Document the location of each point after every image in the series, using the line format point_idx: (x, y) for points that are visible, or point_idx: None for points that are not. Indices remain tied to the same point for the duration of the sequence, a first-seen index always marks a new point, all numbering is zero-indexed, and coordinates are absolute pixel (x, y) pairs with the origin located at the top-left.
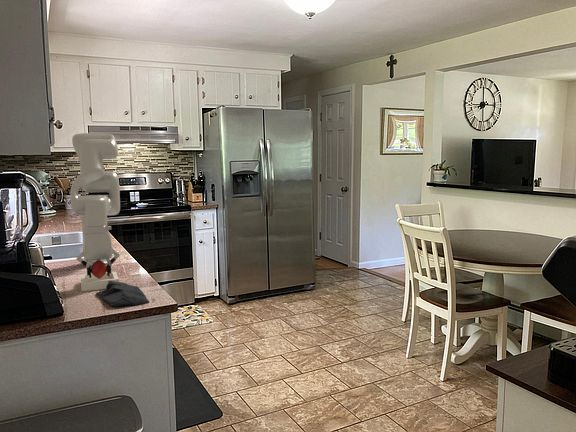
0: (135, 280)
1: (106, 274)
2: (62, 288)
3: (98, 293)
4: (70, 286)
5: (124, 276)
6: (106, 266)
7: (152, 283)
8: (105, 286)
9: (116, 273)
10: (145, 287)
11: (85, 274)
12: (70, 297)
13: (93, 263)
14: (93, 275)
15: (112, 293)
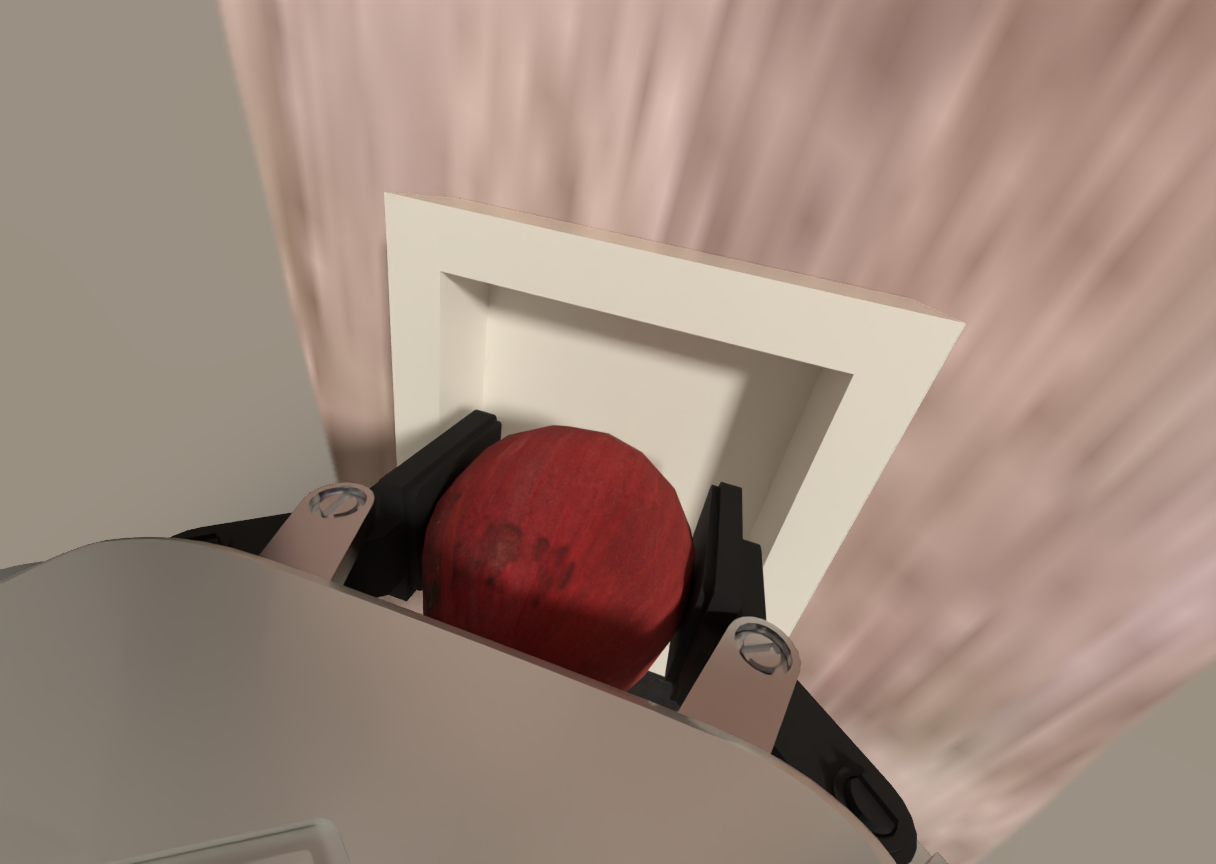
0: (1067, 529)
1: (752, 343)
2: (301, 331)
3: None
4: (359, 302)
5: (1151, 183)
6: (668, 641)
7: (1102, 738)
8: None
9: (876, 473)
10: (934, 771)
11: (448, 223)
12: (384, 600)
13: (423, 600)
14: (560, 297)
15: None
